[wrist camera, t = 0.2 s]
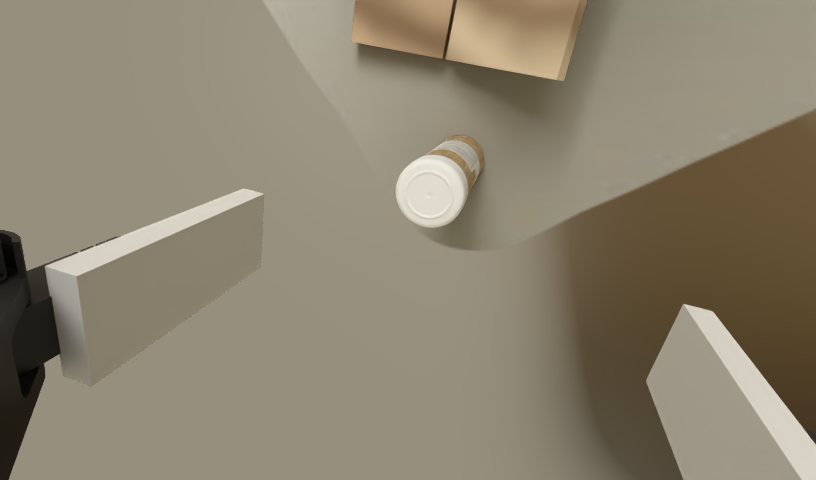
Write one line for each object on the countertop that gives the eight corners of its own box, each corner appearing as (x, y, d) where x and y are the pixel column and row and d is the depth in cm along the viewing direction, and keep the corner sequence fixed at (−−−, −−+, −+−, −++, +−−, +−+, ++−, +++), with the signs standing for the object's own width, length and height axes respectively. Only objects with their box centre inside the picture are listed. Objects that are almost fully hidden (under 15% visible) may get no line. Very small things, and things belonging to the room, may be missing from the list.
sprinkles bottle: (459, 194, 41) (429, 243, 29) (424, 159, 41) (379, 194, 28) (495, 159, 39) (480, 196, 27) (459, 122, 39) (427, 143, 26)
